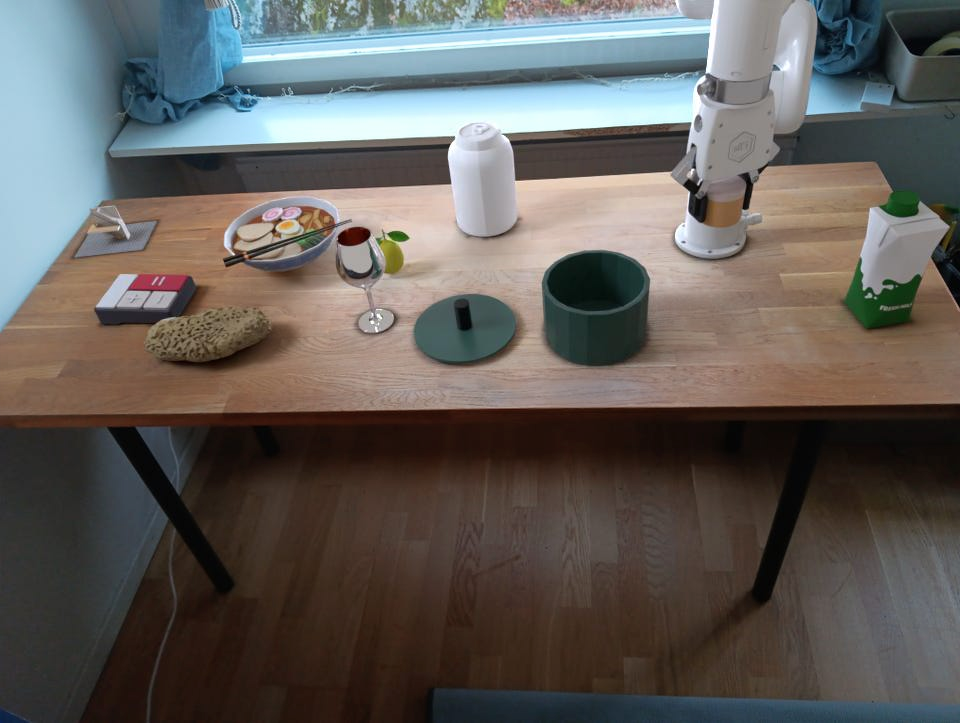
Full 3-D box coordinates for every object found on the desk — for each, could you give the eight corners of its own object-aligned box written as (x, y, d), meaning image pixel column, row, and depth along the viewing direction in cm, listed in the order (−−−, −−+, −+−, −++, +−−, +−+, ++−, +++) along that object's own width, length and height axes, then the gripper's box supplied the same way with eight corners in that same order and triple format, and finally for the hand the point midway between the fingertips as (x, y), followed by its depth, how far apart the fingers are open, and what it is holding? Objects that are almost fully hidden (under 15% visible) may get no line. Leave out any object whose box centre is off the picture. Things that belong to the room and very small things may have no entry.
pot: (545, 301, 128) (542, 251, 121) (642, 298, 126) (645, 247, 118) (543, 366, 116) (540, 316, 109) (650, 364, 114) (655, 313, 107)
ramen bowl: (334, 213, 157) (325, 179, 151) (368, 265, 141) (359, 230, 136) (220, 250, 151) (206, 216, 145) (243, 309, 135) (228, 274, 129)
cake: (725, 200, 103) (730, 168, 100) (749, 220, 99) (755, 188, 96) (687, 210, 102) (691, 179, 99) (710, 232, 98) (715, 200, 95)
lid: (422, 300, 132) (416, 272, 127) (518, 297, 129) (516, 269, 125) (407, 367, 119) (401, 339, 115) (514, 365, 117) (511, 337, 112)
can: (469, 202, 154) (458, 112, 141) (525, 207, 151) (519, 116, 137) (448, 234, 146) (434, 143, 132) (507, 241, 142) (498, 147, 129)
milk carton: (885, 290, 121) (924, 184, 107) (917, 324, 114) (963, 215, 101) (835, 299, 120) (867, 194, 107) (864, 334, 114) (903, 226, 100)
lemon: (415, 268, 139) (407, 223, 132) (399, 285, 136) (389, 240, 129) (387, 260, 142) (377, 216, 135) (370, 277, 138) (359, 233, 131)
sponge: (152, 375, 126) (245, 368, 118) (131, 337, 122) (225, 326, 115) (197, 336, 136) (284, 328, 129) (178, 300, 133) (267, 289, 125)
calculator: (167, 308, 131) (90, 306, 133) (176, 326, 134) (100, 324, 136) (191, 272, 139) (117, 270, 141) (198, 289, 142) (126, 288, 144)
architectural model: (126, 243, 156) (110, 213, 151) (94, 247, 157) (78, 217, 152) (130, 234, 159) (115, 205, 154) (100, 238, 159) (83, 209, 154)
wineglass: (362, 342, 125) (338, 257, 112) (346, 317, 130) (321, 233, 118) (406, 325, 127) (386, 239, 115) (388, 301, 132) (368, 216, 120)
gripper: (689, 112, 84) (676, 242, 96) (818, 79, 87) (789, 208, 99) (657, 88, 89) (649, 214, 101) (780, 57, 92) (757, 183, 104)
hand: (718, 210), depth 100 cm, fingers closed on cake, 6 cm apart
